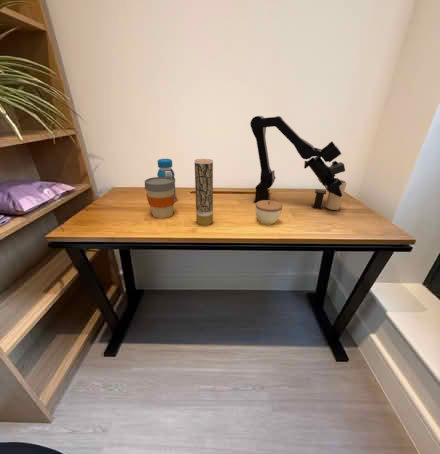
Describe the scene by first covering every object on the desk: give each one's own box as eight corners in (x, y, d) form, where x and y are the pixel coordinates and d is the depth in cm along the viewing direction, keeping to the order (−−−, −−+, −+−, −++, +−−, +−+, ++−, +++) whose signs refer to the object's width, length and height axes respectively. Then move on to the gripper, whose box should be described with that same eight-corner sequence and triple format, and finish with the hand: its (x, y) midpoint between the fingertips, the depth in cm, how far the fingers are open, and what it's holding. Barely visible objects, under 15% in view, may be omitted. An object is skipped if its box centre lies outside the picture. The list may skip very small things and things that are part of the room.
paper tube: (206, 227, 101) (206, 163, 89) (193, 223, 104) (190, 160, 92) (215, 221, 106) (216, 160, 94) (202, 217, 109) (201, 158, 97)
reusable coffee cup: (142, 216, 109) (137, 182, 102) (158, 207, 119) (154, 175, 112) (168, 221, 105) (164, 186, 98) (181, 211, 116) (179, 178, 108)
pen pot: (325, 208, 119) (331, 182, 113) (325, 204, 124) (331, 178, 118) (339, 210, 117) (347, 184, 111) (339, 206, 122) (346, 180, 116)
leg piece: (311, 208, 121) (315, 192, 117) (312, 204, 125) (315, 189, 121) (322, 209, 120) (325, 193, 116) (322, 206, 124) (326, 190, 120)
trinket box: (282, 227, 102) (285, 205, 97) (255, 226, 102) (257, 205, 97) (277, 217, 111) (280, 196, 107) (253, 216, 111) (254, 196, 107)
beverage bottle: (157, 202, 125) (152, 161, 115) (163, 197, 132) (159, 157, 122) (173, 204, 123) (170, 162, 114) (178, 198, 131) (176, 158, 121)
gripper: (342, 160, 101) (363, 188, 106) (330, 152, 117) (348, 177, 122) (318, 178, 106) (338, 205, 110) (309, 168, 122) (327, 192, 126)
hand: (339, 194), depth 117 cm, fingers closed on pen pot, 6 cm apart
